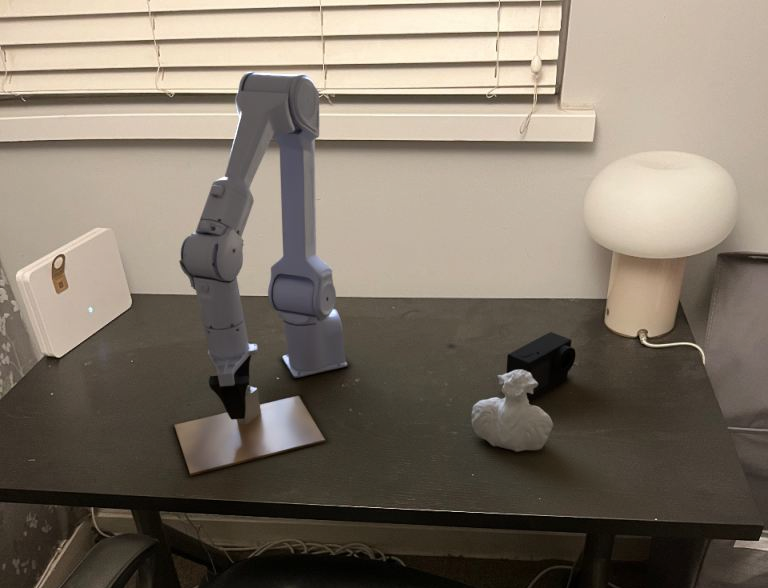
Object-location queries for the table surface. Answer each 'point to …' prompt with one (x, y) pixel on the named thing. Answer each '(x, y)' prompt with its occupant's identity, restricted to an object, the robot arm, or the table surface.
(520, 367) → the digital camera
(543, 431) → the bust
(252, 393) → the lighter
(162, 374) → the table surface
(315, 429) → the wooden board
